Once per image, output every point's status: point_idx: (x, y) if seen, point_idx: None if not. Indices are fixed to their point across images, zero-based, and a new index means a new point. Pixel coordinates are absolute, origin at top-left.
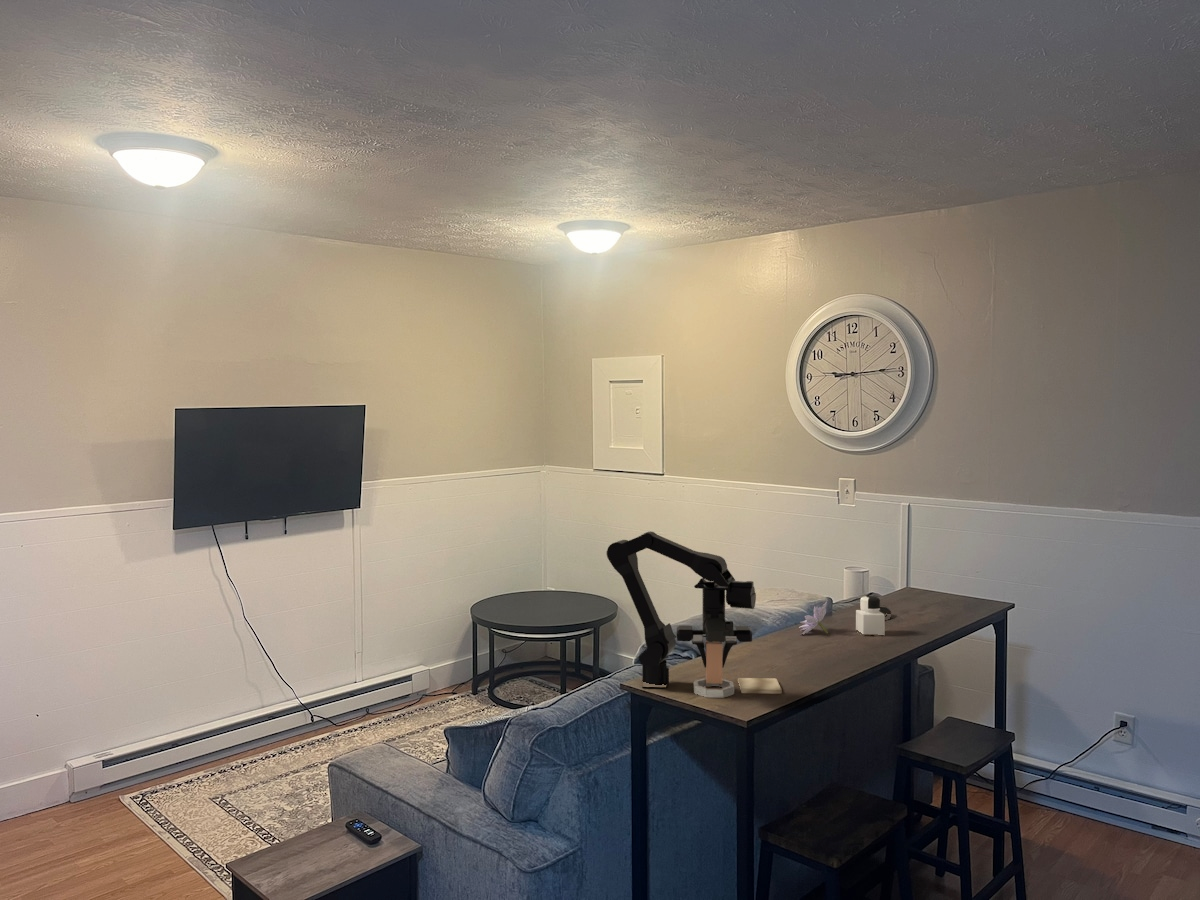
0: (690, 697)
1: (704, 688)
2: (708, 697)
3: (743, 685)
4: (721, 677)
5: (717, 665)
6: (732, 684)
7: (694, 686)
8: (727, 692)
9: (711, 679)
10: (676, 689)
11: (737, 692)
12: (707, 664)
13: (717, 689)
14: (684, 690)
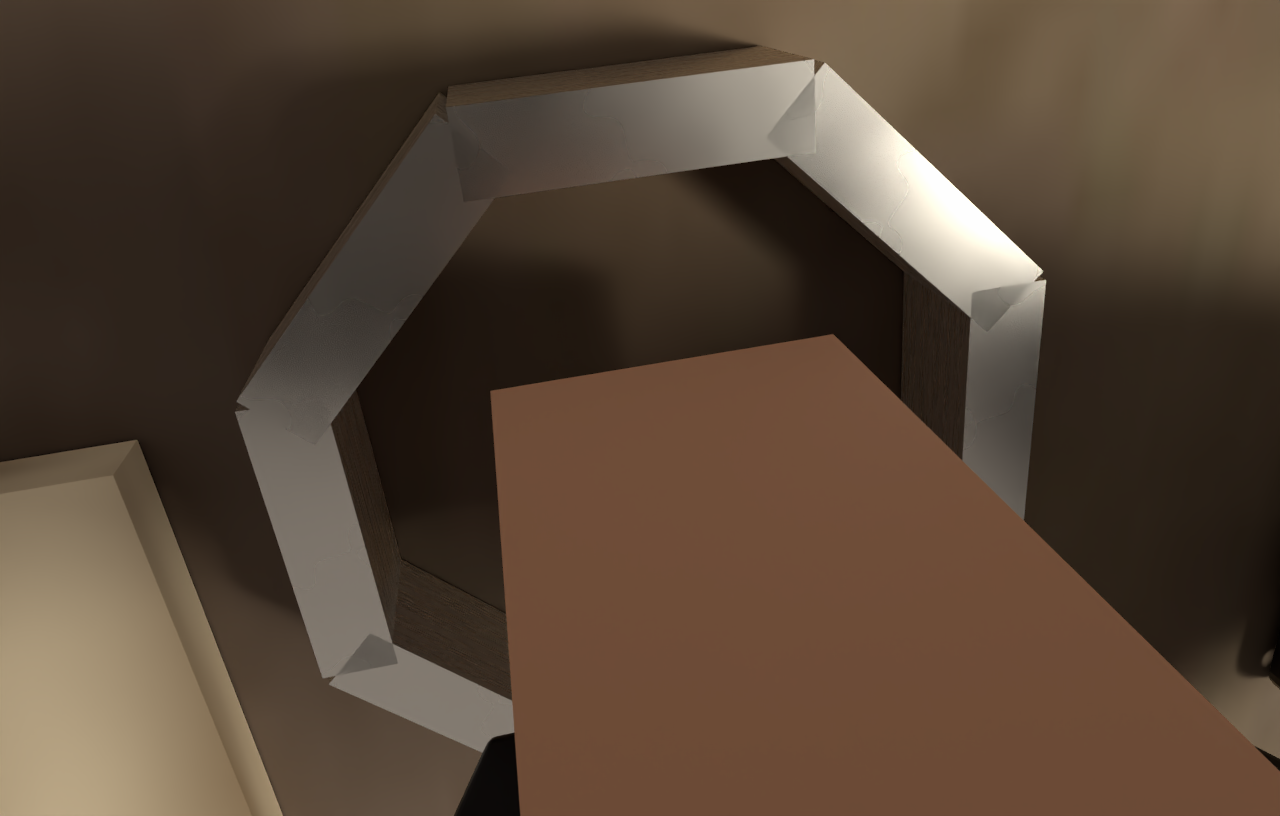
0: (1056, 8)
1: (862, 136)
2: (733, 49)
3: (137, 683)
4: (520, 454)
5: (688, 624)
6: (296, 525)
7: (1036, 274)
8: (366, 205)
9: (753, 385)
10: (1201, 406)
11: (228, 468)
12: (1041, 582)
13: (579, 107)
14: (1095, 384)
